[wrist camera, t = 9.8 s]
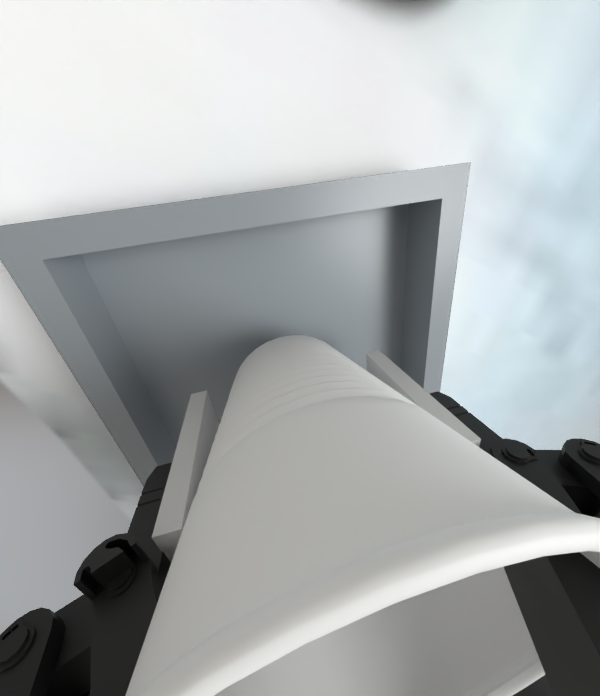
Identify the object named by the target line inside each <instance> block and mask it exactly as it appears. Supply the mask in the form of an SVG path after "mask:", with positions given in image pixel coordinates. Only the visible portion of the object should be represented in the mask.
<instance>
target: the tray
mask: <svg viewBox="0 0 600 696" xmlns="http://www.w3.org/2000/svg"><path fill="white" fill-rule="evenodd" d="M470 164H471V162H469V163H461V164H454V165H446V166H439V167H432V168H424V169H417V170H409V171H402V172H395V173H387V174H380V175H372V176H365V177H358V178H350V179H343V180H335V181H328V182H321V183H313V184H306V185H298V186H291V187H284V188H276V189H269V190H262V191H254V192H247V193H239V194H232V195H225V196H217V197H210V198H202V199H195V200H188V201H180V202H173V203H165V204H158V205H151V206H143V207H136V208H128V209H121V210H114V211H106V212H99V213H91V214H84V215H77V216H69V217H62V218H54V219H47V220H40V221H32V222H25V223H17V224H10V225H3V226H0V259H1V261H2V262H3V264H4V266H5V267H6V269H7V270H8V272H9V273H10V275H11V277H12V278H13V280H14V281H15V283H16V285H17V286H18V288H19V289H20V291H21V292H22V294H23V296H24V297H25V299H26V300H27V302H28V304H29V305H30V307H31V308H32V310H33V311H34V313H35V315H36V316H37V318H38V319H39V321H40V323H41V324H42V326H43V327H44V329H45V331H46V332H47V334H48V335H49V337H50V338H51V340H52V342H53V343H54V345H55V346H56V348H57V350H58V351H59V353H60V354H61V356H62V357H63V359H64V361H65V362H66V364H67V365H68V367H69V369H70V370H71V372H72V373H73V375H74V376H75V378H76V380H77V381H78V383H79V384H80V386H81V388H82V389H83V391H84V392H85V394H86V395H87V397H88V399H89V400H90V402H91V403H92V405H93V407H94V408H95V410H96V411H97V413H98V415H99V416H100V418H101V419H102V421H103V422H104V424H105V426H106V427H107V429H108V430H109V432H110V434H111V435H112V437H113V438H114V440H115V441H116V443H117V445H118V446H119V448H120V449H121V451H122V453H123V454H124V456H125V457H126V459H127V460H128V462H129V464H130V465H131V467H132V468H133V470H134V472H135V473H136V475H137V476H138V478H139V480H140V481H141V483H142V484H143V486H144V485H145V483H146V480H147V478H148V477H149V476H150V474H151V473H152V472H153V470H154V469H155V468H156V466H160V465H164V464H168V463H171V462H173V458H174V454H175V451H176V447H177V443H178V440H179V436H180V433H181V429H182V425H183V422H184V418H185V414H186V411H187V407H188V404H189V400H190V396H191V394H194V393H198V392H202V391H206V390H207V392H208V395H209V397H210V400H211V403H212V406H213V408H214V411H215V414H216V417H217V419H218V422H219V424H220V422H221V418H222V416H223V413H224V409H225V407H226V403H227V401H228V397H229V394H230V391H231V388H232V385H233V382H234V380H235V377H236V374H237V372H238V370H239V368H240V366H241V364H242V363H243V362H244V360H245V359H246V358H247V356H249V355H250V354H251V353H252V352H253V351H254V350H255V349H256V348H258V347H260V346H261V345H263V344H265V343H266V342H268V341H271V340H274V339H276V338H279V337H284V336H290V335H304V336H309V337H314V338H317V339H319V340H321V341H324V342H326V343H327V344H328V345H330V346H331V347H333V348H334V349H336V350H337V351H339V352H340V353H342V354H343V355H344V356H346V357H347V358H349V359H350V360H352V361H353V362H355V363H356V364H358V365H359V366H360V367H362V368H363V369H365V370H366V353H370V352H374V351H378V350H380V351H381V352H382V353H383V354H384V355H385V356H386V357H388V358H389V359H390V360H391V361H392V362H393V363H394V364H396V365H397V366H398V367H399V368H400V369H401V370H402V371H404V372H405V373H406V374H407V375H408V376H409V377H411V378H412V379H413V380H414V381H415V382H416V383H417V384H419V385H420V386H421V387H422V388H423V389H424V390H425V391H427V392H428V393H433V392H437V391H438V392H440V386H441V379H442V372H443V364H444V357H445V349H446V342H447V335H448V327H449V320H450V312H451V305H452V297H453V290H454V283H455V275H456V268H457V260H458V253H459V246H460V238H461V231H462V223H463V216H464V208H465V201H466V194H467V186H468V179H469V171H470ZM366 371H367V370H366Z"/></svg>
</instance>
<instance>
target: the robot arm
mask: <svg viewBox="0 0 600 696" xmlns="http://www.w3.org/2000/svg"><path fill="white" fill-rule="evenodd" d="M366 370H367V371H368V372H369V373H370V374H372V375H374V376H375V377H376V378H378V379H379V380H381V381H382V382H384V383H385V384H387V385H388V386H390V387H391V388H392V389H394V390H395V391H397V392H398V393H400V394H401V395H403V396H404V397H406V398H407V399H409V400H410V401H412V402H413V403H414V404H416V405H417V406H419V407H421V408H422V409H424V410H425V411H427V412H428V413H430V414H431V415H432V416H434V417H435V418H437V419H438V420H440V421H441V422H443V423H444V424H446V425H447V426H449V427H450V428H452V429H453V430H454V431H456V432H457V433H459V434H460V435H462V436H463V437H465V438H466V439H468V440H469V441H471V442H472V443H474V444H475V445H476V446H478V447H479V448H481V449H482V450H484V451H485V452H487V453H488V454H490V455H491V456H493V457H494V458H496V459H497V460H499V461H500V462H501V463H503V464H504V465H506V466H507V467H509V468H510V469H512V470H513V471H515V472H516V473H518V474H519V475H521V476H522V477H523V478H525V479H526V480H528V481H529V482H531V483H532V484H534V485H535V486H537V487H538V488H540V489H541V490H543V491H544V492H545V493H547V494H548V495H550V496H551V497H553V498H554V499H556V500H557V501H559V502H560V503H562V504H563V505H565V506H566V507H567V508H569V509H570V510H572V511H573V512H575V513H578V514H583V515H587V516H592V517H596V518H600V444H598V443H596V442H593V441H589V440H585V439H570V440H567V441H566V442H565V444H564V445H563V448H562V450H534V449H532V448H531V447H529V446H528V445H526V444H524V443H521V442H519V441H516V440H511V439H502V438H501V437H499V436H498V435H497V434H496V433H494V432H493V431H492V430H491V429H489V428H488V427H487V426H486V425H484V424H483V423H482V422H481V421H479V420H478V419H477V418H476V417H474V416H473V415H472V414H471V413H468V411H467V410H466V409H465V408H463V407H462V406H460V404H458V403H457V402H456V401H455V400H453V399H452V398H451V397H449V396H447V395H445V394H442V393H440V392H438V391H437V392H433V393H428V392H427V391H425V390H424V389H423V388H422V387H421V386H420V385H419V384H417V383H416V382H415V381H414V380H413V379H412V378H411V377H409V376H408V375H407V374H406V373H405V372H404V371H402V370H401V369H400V368H399V367H398V366H397V365H396V364H394V363H393V362H392V361H391V360H390V359H389V358H388V357H386V356H385V355H384V354H383V353H382V352H381V351H380V350H378V351H374V352H370V353H366ZM218 427H219V422H218V419H217V417H216V414H215V411H214V408H213V406H212V403H211V400H210V397H209V395H208V392H207V390H206V391H202V392H198V393H194V394H191V396H190V400H189V404H188V407H187V411H186V414H185V418H184V422H183V425H182V429H181V433H180V436H179V440H178V443H177V447H176V451H175V454H174V458H173V462H171V463H168V464H164V465H160V466H156V468H155V469H154V470H153V472H152V473H151V474H150V476H149V477H148V478H147V480H146V483H145V485H144V488H143V491H142V496H141V497H140V499H139V502H138V507H137V508H136V511H135V513H134V516H133V519H132V522H131V524H130V527H129V530H128V533H127V534H126V533H125V534H118V535H115V536H113V537H111V538H109V539H107V540H105V541H104V542H102V543H101V544H100V545H99V546H97V547H96V548H95V549H94V550H93V551H92V552H91V553H90V554H89V555H88V557H87V558H86V559H85V560H84V561H83V563H82V565H81V567H80V568H79V570H78V571H77V574H76V577H75V581H74V586H76V587H77V588H78V589H79V590H80V591H81V592H82V593H83V594H84V595H82V596H81V597H79V598H78V599H76V600H74V601H73V602H71V603H69V604H68V605H66V606H65V607H64V608H62V609H60V610H58V611H57V612H55V613H54V612H52V611H51V610H49V609H45V608H39V609H36V610H33V611H30V612H28V613H27V614H25V615H24V616H22V617H20V618H19V619H17V620H16V621H15V622H14V623H13V624H11V625H10V626H9V627H8V628H7V629H6V630H5V631H4V632H3V633H2V634H1V635H0V696H125V695H126V692H127V689H128V687H129V684H130V681H131V678H132V675H133V672H134V669H135V666H136V663H137V661H138V658H139V655H140V652H141V649H142V646H143V643H144V640H145V637H146V634H147V632H148V629H149V626H150V623H151V620H152V617H153V614H154V611H155V608H156V606H157V603H158V600H159V597H160V594H161V591H162V588H163V585H164V582H165V579H166V577H167V574H168V571H169V568H170V565H171V562H172V559H173V556H174V553H175V551H176V548H177V545H178V542H179V539H180V536H181V533H182V530H183V527H184V524H185V522H186V519H187V516H188V513H189V510H190V507H191V504H192V501H193V499H194V497H195V495H196V493H197V490H198V485H199V482H200V480H201V478H202V475H203V470H204V468H205V466H206V464H207V459H208V456H209V454H210V452H211V447H212V444H213V442H214V440H215V435H216V433H217V431H218ZM504 569H505V572H506V575H507V577H508V580H509V582H510V585H511V587H512V590H513V592H514V595H515V598H516V600H517V603H518V605H519V608H520V610H521V613H522V616H523V618H524V621H525V623H526V626H527V628H528V631H529V633H530V636H531V639H532V641H533V644H534V646H535V649H536V651H537V654H538V656H539V659H540V662H541V664H542V667H543V669H544V672H545V675H544V676H542V677H541V678H539V679H538V680H536V681H535V682H533V683H532V684H530V685H529V686H527V687H526V688H524V689H522V690H521V691H519V692H517V693H516V694H514V695H513V696H600V568H599V567H598V566H596V565H595V564H594V563H593V562H591V561H590V560H589V559H588V558H586V557H585V556H584V555H583V554H581V553H580V552H576V553H567V554H559V555H551V556H543V557H539V558H535V559H531V560H527V561H523V562H519V563H516V564H512V565H508V566H504Z"/></svg>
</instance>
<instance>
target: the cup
mask: <svg viewBox="0 0 600 696" xmlns="http://www.w3.org/2000/svg"><path fill="white" fill-rule="evenodd" d="M576 552H580V553H581V554H583V555H584V556H585V557H586V558H588V559H589V560H590V561H591V562H593V563H594V564H595V565H596V566H598V567H599V568H600V518H596V517H592V516H587V515H583V514H578V513H575V512H573V511H572V510H570V509H569V508H567V507H566V506H565V505H563V504H562V503H560V502H559V501H557V500H556V499H554V498H553V497H551V496H550V495H548V494H547V493H545V492H544V491H543V490H541V489H540V488H538V487H537V486H535V485H534V484H532V483H531V482H529V481H528V480H526V479H525V478H523V477H522V476H521V475H519V474H518V473H516V472H515V471H513V470H512V469H510V468H509V467H507V466H506V465H504V464H503V463H501V462H500V461H499V460H497V459H496V458H494V457H493V456H491V455H490V454H488V453H487V452H485V451H484V450H482V449H481V448H479V447H478V446H476V445H475V444H474V443H472V442H471V441H469V440H468V439H466V438H465V437H463V436H462V435H460V434H459V433H457V432H456V431H454V430H453V429H452V428H450V427H449V426H447V425H446V424H444V423H443V422H441V421H440V420H438V419H437V418H435V417H434V416H432V415H431V414H430V413H428V412H427V411H425V410H424V409H422V408H421V407H419V406H417V405H416V404H414V403H413V402H412V401H410V400H409V399H407V398H406V397H404V396H403V395H401V394H400V393H398V392H397V391H395V390H394V389H392V388H391V387H390V386H388V385H387V384H385V383H384V382H382V381H381V380H379V379H378V378H376V377H375V376H374V375H372V374H370V373H369V372H368V371H366V370H365V369H363V368H362V367H360V366H359V365H358V364H356V363H355V362H353V361H352V360H350V359H349V358H347V357H346V356H344V355H343V354H342V353H340V352H339V351H337V350H336V349H334V348H333V347H331V346H330V345H328V344H327V343H326V342H324V341H321V340H319V339H317V338H314V337H309V336H304V335H290V336H284V337H279V338H276V339H274V340H271V341H268V342H266V343H265V344H263V345H261V346H260V347H258V348H256V349H255V350H254V351H253V352H252V353H251V354H250V355H249V356H247V358H246V359H245V360H244V362H243V363H242V364H241V366H240V368H239V370H238V372H237V374H236V377H235V380H234V382H233V385H232V388H231V391H230V394H229V397H228V401H227V403H226V407H225V409H224V413H223V416H222V418H221V422H220V424H219V427H218V431H217V433H216V435H215V440H214V442H213V444H212V447H211V452H210V454H209V456H208V459H207V464H206V466H205V468H204V470H203V475H202V478H201V480H200V482H199V485H198V490H197V493H196V495H195V497H194V499H193V501H192V504H191V507H190V510H189V513H188V516H187V519H186V522H185V524H184V527H183V530H182V533H181V536H180V539H179V542H178V545H177V548H176V551H175V553H174V556H173V559H172V562H171V565H170V568H169V571H168V574H167V577H166V579H165V582H164V585H163V588H162V591H161V594H160V597H159V600H158V603H157V606H156V608H155V611H154V614H153V617H152V620H151V623H150V626H149V629H148V632H147V634H146V637H145V640H144V643H143V646H142V649H141V652H140V655H139V658H138V661H137V663H136V666H135V669H134V672H133V675H132V678H131V681H130V684H129V687H128V689H127V692H126V695H125V696H513V695H514V694H516V693H517V692H519V691H521V690H522V689H524V688H526V687H527V686H529V685H530V684H532V683H533V682H535V681H536V680H538V679H539V678H541V677H542V676H544V675H545V672H544V669H543V667H542V664H541V662H540V659H539V656H538V654H537V651H536V649H535V646H534V644H533V641H532V639H531V636H530V633H529V631H528V628H527V626H526V623H525V621H524V618H523V616H522V613H521V610H520V608H519V605H518V603H517V600H516V598H515V595H514V592H513V590H512V587H511V585H510V582H509V580H508V577H507V575H506V572H505V569H504V566H508V565H512V564H516V563H519V562H523V561H527V560H531V559H535V558H539V557H543V556H551V555H559V554H567V553H576Z"/></svg>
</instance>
